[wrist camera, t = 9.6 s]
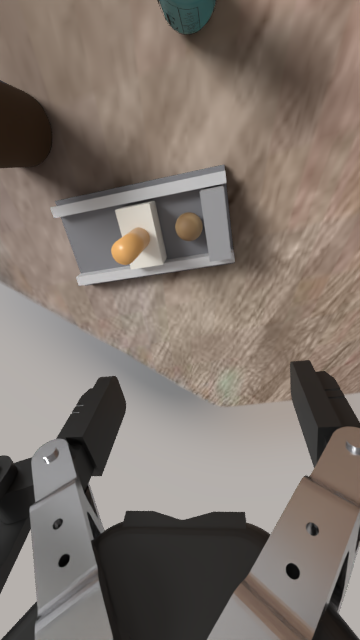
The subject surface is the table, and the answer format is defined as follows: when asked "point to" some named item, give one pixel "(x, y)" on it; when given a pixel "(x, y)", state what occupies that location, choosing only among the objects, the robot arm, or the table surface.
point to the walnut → (188, 226)
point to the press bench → (171, 201)
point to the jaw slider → (139, 236)
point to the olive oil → (22, 129)
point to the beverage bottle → (187, 14)
